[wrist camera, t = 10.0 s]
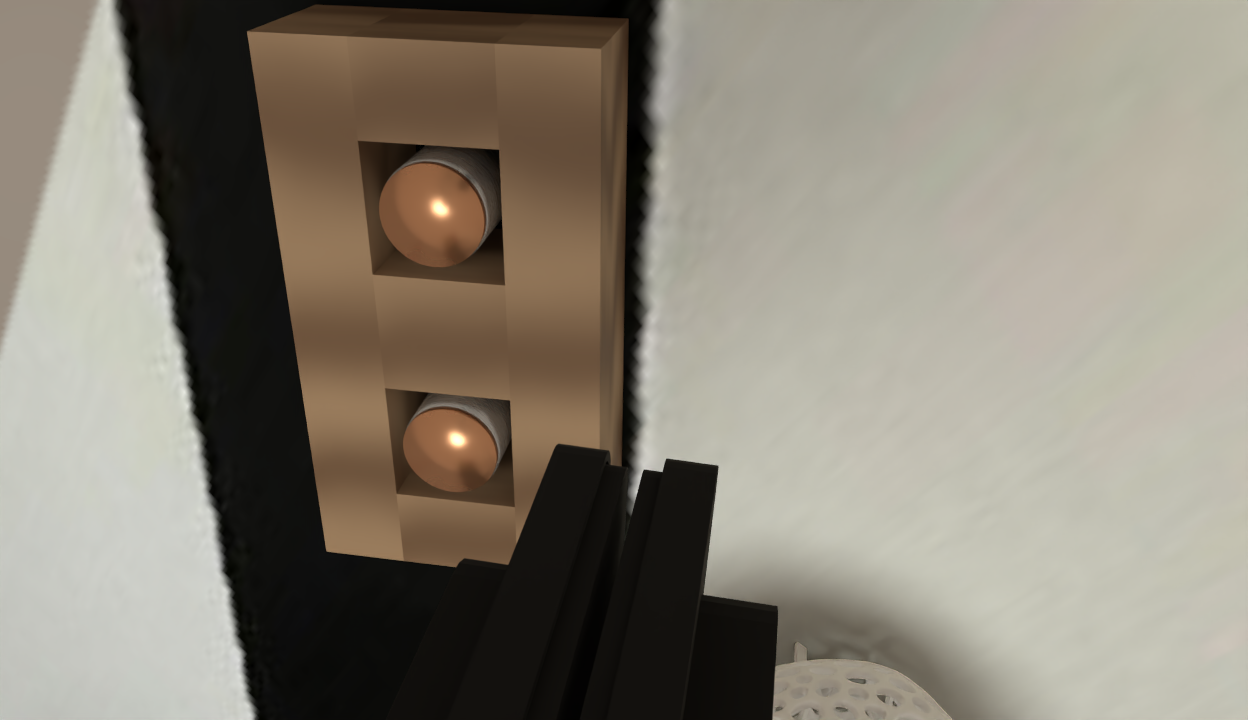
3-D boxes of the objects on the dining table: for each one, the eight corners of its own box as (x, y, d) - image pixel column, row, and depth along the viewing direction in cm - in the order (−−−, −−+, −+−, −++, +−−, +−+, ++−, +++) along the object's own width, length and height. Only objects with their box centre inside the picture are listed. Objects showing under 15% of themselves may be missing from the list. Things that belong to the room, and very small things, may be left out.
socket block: (316, 4, 36) (247, 31, 32) (628, 18, 34) (600, 49, 30) (374, 480, 45) (326, 551, 41) (621, 507, 44) (599, 584, 40)
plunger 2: (440, 344, 41) (397, 404, 37) (528, 352, 41) (495, 414, 36) (446, 421, 43) (406, 487, 39) (531, 430, 42) (499, 498, 38)
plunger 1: (422, 119, 37) (372, 158, 33) (521, 125, 36) (482, 166, 32) (430, 215, 39) (383, 264, 34) (524, 221, 38) (488, 272, 34)
